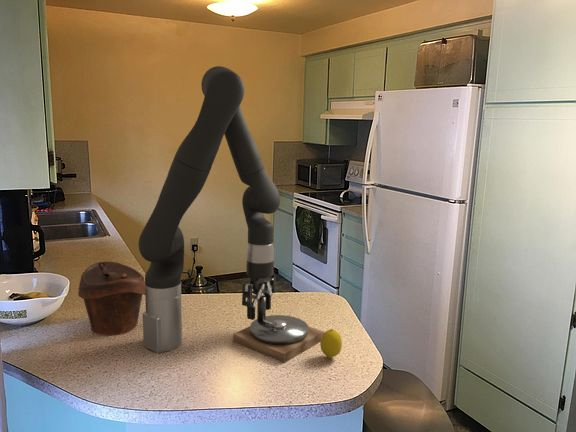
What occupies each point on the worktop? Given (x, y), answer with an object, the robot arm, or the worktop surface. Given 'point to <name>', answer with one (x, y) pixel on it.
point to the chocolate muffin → (112, 297)
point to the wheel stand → (278, 350)
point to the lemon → (331, 343)
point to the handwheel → (277, 327)
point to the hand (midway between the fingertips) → (259, 313)
